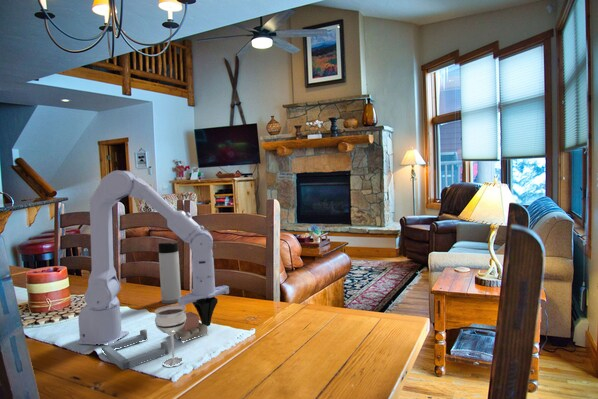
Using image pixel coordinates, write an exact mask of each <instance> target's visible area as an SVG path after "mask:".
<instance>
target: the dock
mask: <svg viewBox="0 0 598 399" xmlns="http://www.w3.org/2000/svg"><path fill="white" fill-rule="evenodd" d="M146 339H147V340H148V332H147V329H141V330H139V334H137V335H134V336H131V337H127V338H123V339H120V340H118V341H116V342H114V343H111V344H108V345H100V346H101V347H100V348H101V349H102V350H103V351H104V353H105V354H106V355H107V356H108V357H107V359H109V360H110V361H111V362H112V363H114V364H115V365H116V366H118V368H119V369H120V370H122V371H124V370H127V369H129V368H133V367H135V366H134V365H136V366H138V365H137V364H139V363H141V362H144V361H147V360H150V359H152V360H154V359H153V358H155V359H157V358H156V357H158V356H161V355H163V356H165V355H164V354H166V355H168V354H169V342H168V341H162V342H160V347H157V348H154V349H152V350H149V351H145V352H143V353H139V354H137V355H134V356H131V357H128V358H126V357H125V356H123V355H122V354H121V353H120V352H118V350H114V349H115V348H120V347H124V346H127V345H130V344H133V343H136V342H139V341H142V340H146ZM102 350H101V351H102ZM167 353H168V354H167ZM161 357H162V356H161ZM158 358H159V357H158ZM150 361H151V360H150ZM147 362H148V361H147ZM144 363H145V362H144ZM141 364H142V363H141ZM139 365H140V364H139Z"/></svg>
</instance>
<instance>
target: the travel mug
mask: <svg viewBox="0 0 598 399" xmlns="http://www.w3.org/2000/svg"><path fill="white" fill-rule="evenodd" d="M157 245H158V246H157V247H158V264H159V265H158V266H159V281H160V296H161V303H163V304H166V305H167V304H169V305H170V304H171V305H172V304H175V303H178V298H179V297H182V290H181V289H182V288H181V272H180V270H181V269H180V257H179V256H180V255H179V244H178V242H175V243H171V242H160V243H158V244H157Z"/></svg>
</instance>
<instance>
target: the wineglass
mask: <svg viewBox="0 0 598 399" xmlns="http://www.w3.org/2000/svg"><path fill="white" fill-rule="evenodd" d="M186 309H187V307H186V305H185V306H182V305H178V304H171V305H170V304H169V305H166V306H161V307H159V308H157V309H155V311H154V314H155V318H154V322H155V323H154V324H155V326H156V327H155V328H157V330H159V331H160V332H162V333H164V334H167V335H168V336H169V337H170V345H171V346H170V347H171V349H170V350H171V357H170V358H167V359H168V360H167V359H166V361H165V360H164V361H165V362H164V361H163V362H164V364H166V365H168V366H169V365H170V366H172V365H175V364H178V363H180V362H181V361H182V358H183V357H181V358H178V357H175V336H174V335H175V333H176V332H178V331H179V330H181V329H182V328H183V326H184V325H185V323H186V320H187V316H186V313H187V312H186ZM174 357H175V358H174Z"/></svg>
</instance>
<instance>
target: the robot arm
mask: <svg viewBox="0 0 598 399" xmlns="http://www.w3.org/2000/svg"><path fill="white" fill-rule="evenodd" d="M125 197H129V198H133V199H139V200H142V201H144V202H146V204H148V205H149V206H150V207H151V208H152V209H154V210H155V211H156V212H158V213H159V214H160V215H161V216H162V217H164V218H165V220H166V222H167V224H166V225H167V228H169V229H170V230H171V231H172V232H173V233H174V234H175V235H176V236H178V238H180V239H181V240H182V241H183V242H184V243H187V244H189V249H190V251H191V255H192V256H191V257H192V259H191V271H192V273H191V274H192V292H189V293H187V294H185V295H181V297H179V298H178V302H177V303H178V304H177V305H182V306H185V307H186V305H189V304H192V305H193V306H194V308H195V310H196V311H197V313H198V314H197V315H199V320H200V323H202V324H204V325H206V326H207V327H209V326H211V323H212V318H213V314H214V310H215V309H216V306H217V304H218V303H219V302H218V298H217V296H220V295H228V294H229V293H230V286H228V285H220V286H216V283H215V282H216V281H215V280H216V279H215V278H216V277H215V262H214V261H215V259H214V257H213V256H214V251H213V246H214V243H213V242H214V239H213V236H212V234H211V233H210V231H209V230H207V229H205V226H203V225H200V224H199V223H197V221H195V220H194V219H193V218H192V217H191V216H192V214H191V213H190V212H189V211H188V212H186V211H184V210H176V209H174V207H172V206H171V204H169V203H168V202H167V201H166V200H165V199H164V198H163V197H162V196H161V195H160V194H159V193H158V192H157V191H156V190H155V189H154V188H153V187H152V186H151V185H150V184H148V182H146V181H145V180H144V179H142V178H141V177H138V176H137V175H136V174H135V173H134V172H133V171H130V170H118V169H117V170H113V171H111V172H109V173H108V174H106V175H105V176H104V177H102V178H101V180H100V183H99V184H98V186H97V187H96V189H95V191H94V192H93V193H92V196H91V197H90V199H89V220H90V221H89V223H90V224H89V225H90V226H89V227H90V253H91V254H90V256H91V261H90V262H91V271H90V273H89V277H88V281H87V283H88V285H87V289H86V291H85V293H84V302H85V303H86V305H84V306H83V307H82V308H81V309H80V311H79V314H78V321H77V322H78V331H79V332H78V333H79V340H77V344H78V345H95V346H101V345H100V344H107V343H108V344H111V343H113V342H115V341H116V342H117V340H118V339H119V340H121V339H123V338H124V337H126V336H127V335H128V334H130V332H129V331H128V330H127V331H125V330H124V331H123V330H122V321H121V308H120V306H121V305H120V300H119V298H118V297H117V296H118V295H119V293H120V291H121V283H120V281H119V280H118V277H117V270H116V267H114V264H115V263H114V262H115V261H114V234H113V233H114V232H113V207H114V206H115V205H116V204H117V203H118V202H119V201H121V200H122V199H123V198H125ZM125 335H126V336H125ZM123 336H124V337H123ZM120 338H121V339H120ZM119 340H118V341H119ZM96 344H98V345H96Z"/></svg>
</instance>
